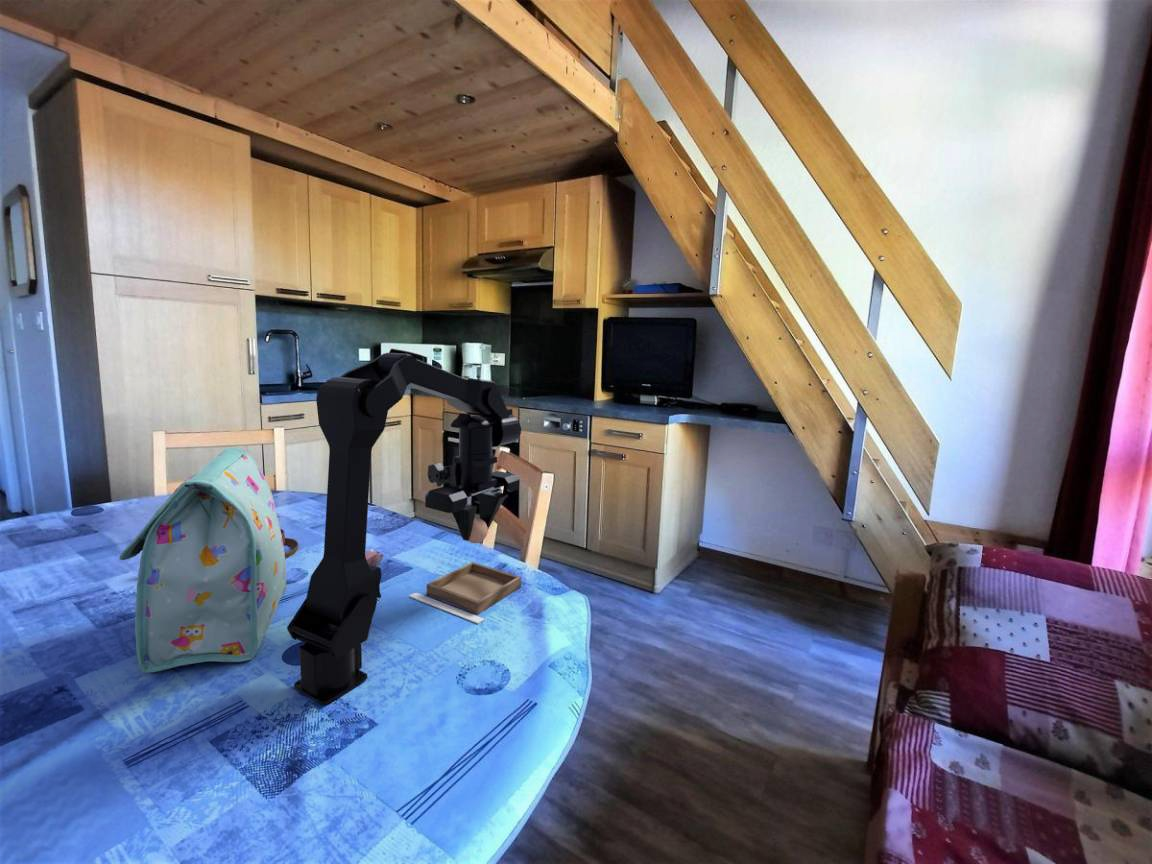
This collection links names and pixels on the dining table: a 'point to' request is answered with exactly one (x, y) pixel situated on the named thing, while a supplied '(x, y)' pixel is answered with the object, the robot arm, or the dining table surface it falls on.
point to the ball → (478, 531)
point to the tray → (474, 587)
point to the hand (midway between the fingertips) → (475, 536)
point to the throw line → (447, 608)
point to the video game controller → (373, 557)
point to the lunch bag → (209, 568)
